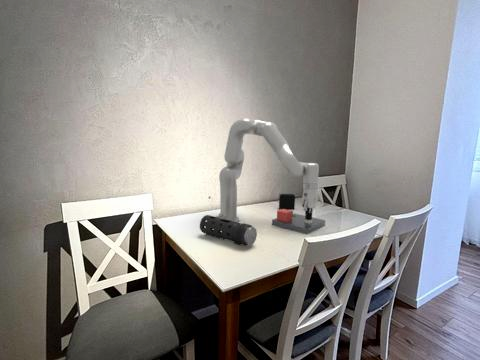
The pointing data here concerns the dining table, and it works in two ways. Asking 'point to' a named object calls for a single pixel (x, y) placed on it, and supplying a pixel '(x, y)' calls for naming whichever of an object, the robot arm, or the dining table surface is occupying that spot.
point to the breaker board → (300, 224)
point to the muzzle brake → (228, 230)
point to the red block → (284, 215)
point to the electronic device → (287, 201)
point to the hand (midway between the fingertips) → (308, 219)
